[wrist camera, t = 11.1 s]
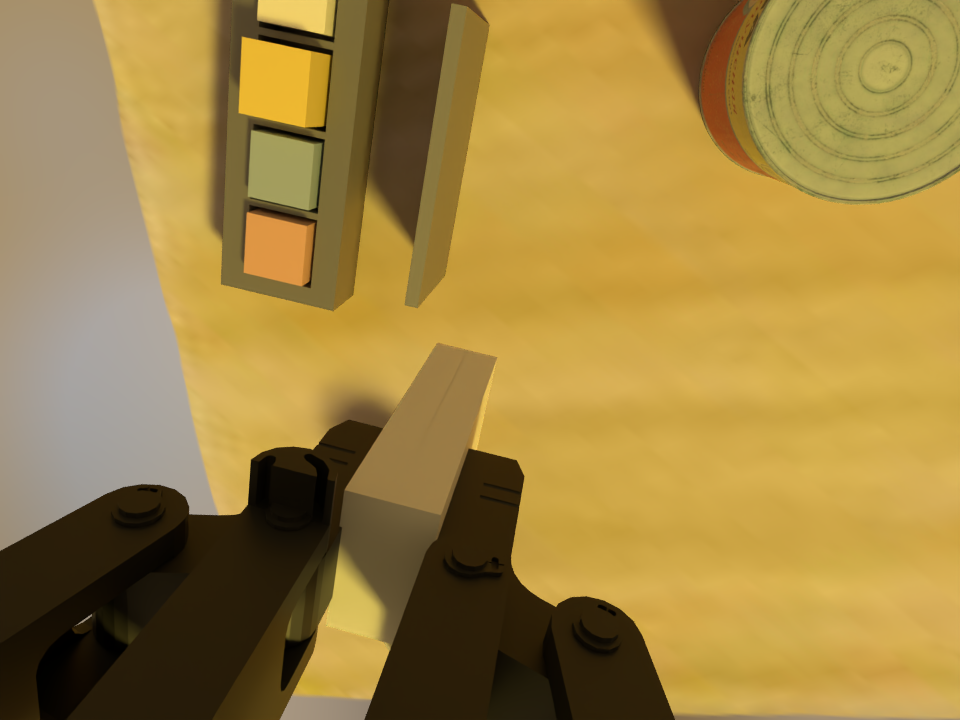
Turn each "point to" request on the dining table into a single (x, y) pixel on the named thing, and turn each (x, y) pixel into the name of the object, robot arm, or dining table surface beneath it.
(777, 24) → the canned food
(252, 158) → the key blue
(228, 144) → the frame
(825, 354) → the dining table surface
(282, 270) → the key terracotta
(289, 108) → the key mustard
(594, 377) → the dining table surface
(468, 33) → the placard
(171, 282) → the dining table surface
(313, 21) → the key ivory
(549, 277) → the dining table surface
